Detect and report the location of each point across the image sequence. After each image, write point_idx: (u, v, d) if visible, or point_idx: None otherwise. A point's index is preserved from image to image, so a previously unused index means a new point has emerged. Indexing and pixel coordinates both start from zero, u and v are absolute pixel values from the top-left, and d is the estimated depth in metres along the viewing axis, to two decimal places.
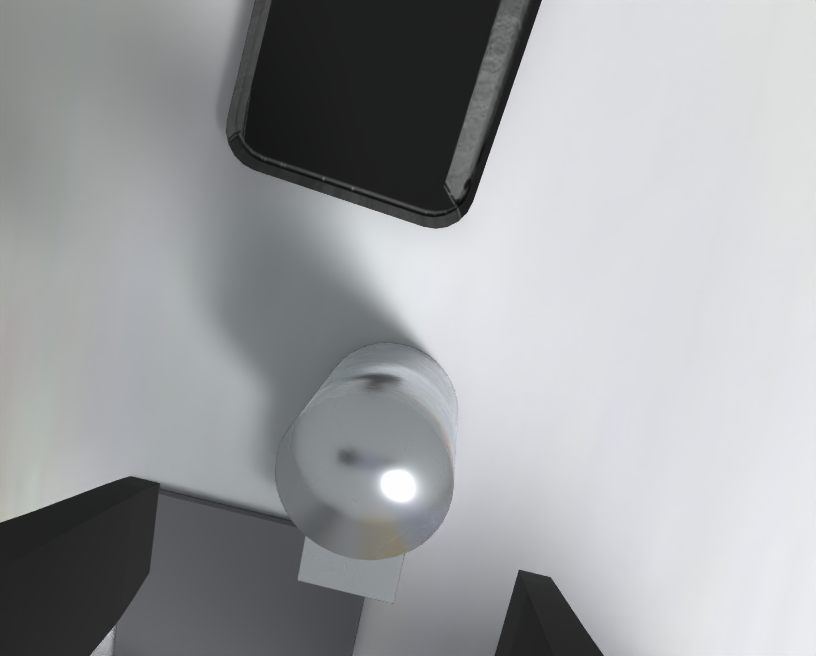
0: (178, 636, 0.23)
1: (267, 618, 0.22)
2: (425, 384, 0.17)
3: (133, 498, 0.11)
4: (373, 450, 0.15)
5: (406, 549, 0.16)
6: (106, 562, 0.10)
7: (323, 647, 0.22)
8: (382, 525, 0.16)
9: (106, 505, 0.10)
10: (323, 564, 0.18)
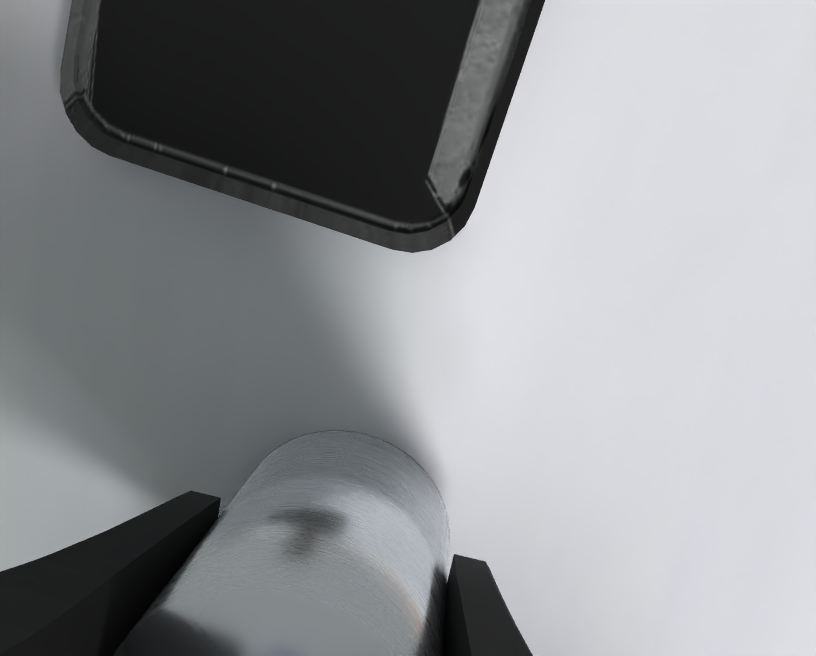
0: None
1: None
2: (391, 529, 0.10)
3: (199, 514, 0.11)
4: None
5: None
6: None
7: None
8: None
9: (176, 522, 0.10)
10: None
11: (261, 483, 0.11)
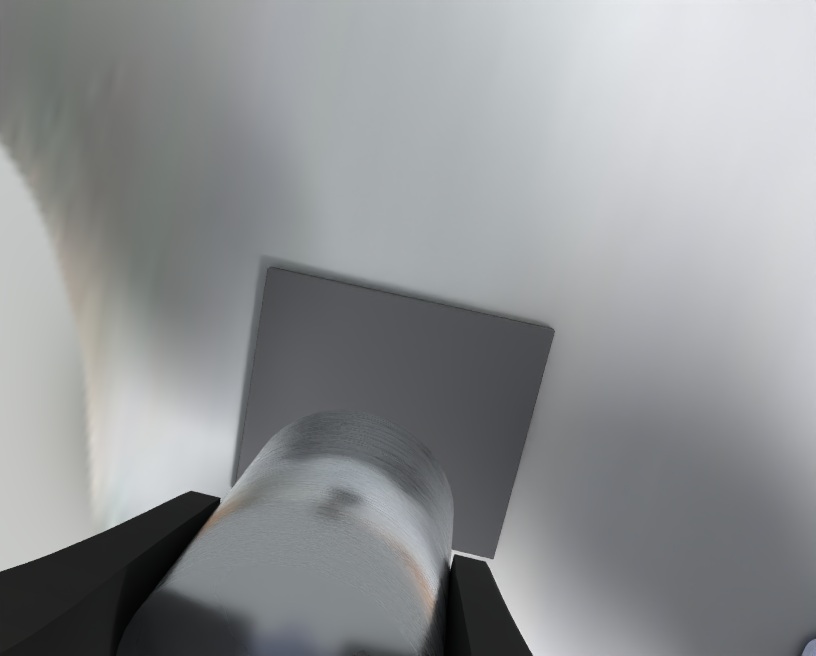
0: None
1: (420, 426, 0.19)
2: (400, 510, 0.10)
3: (199, 514, 0.11)
4: None
5: None
6: None
7: (485, 460, 0.20)
8: None
9: (176, 522, 0.10)
10: None
11: (274, 459, 0.11)
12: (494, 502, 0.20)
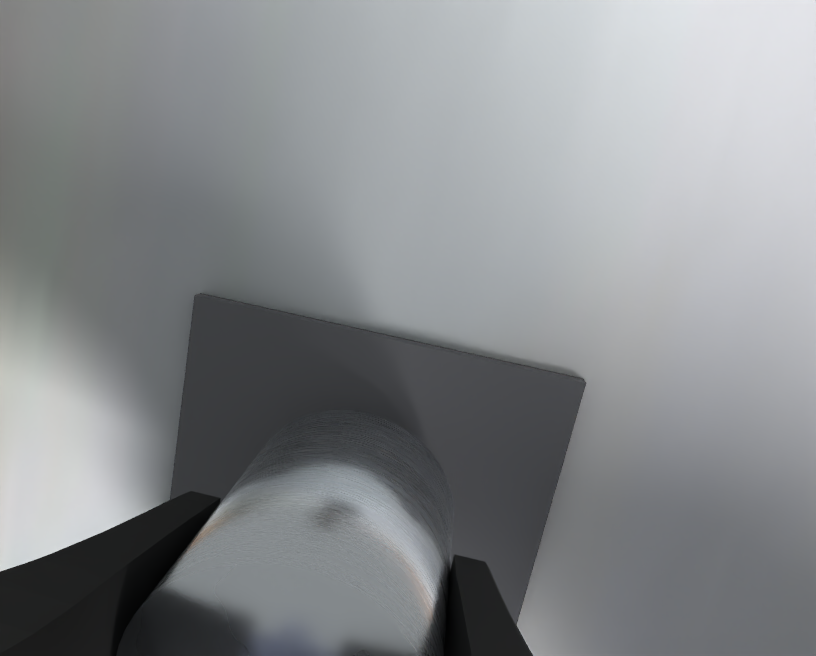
0: None
1: None
2: (401, 509, 0.10)
3: (199, 514, 0.11)
4: None
5: None
6: None
7: (490, 552, 0.15)
8: None
9: (176, 522, 0.10)
10: None
11: (274, 459, 0.11)
12: None
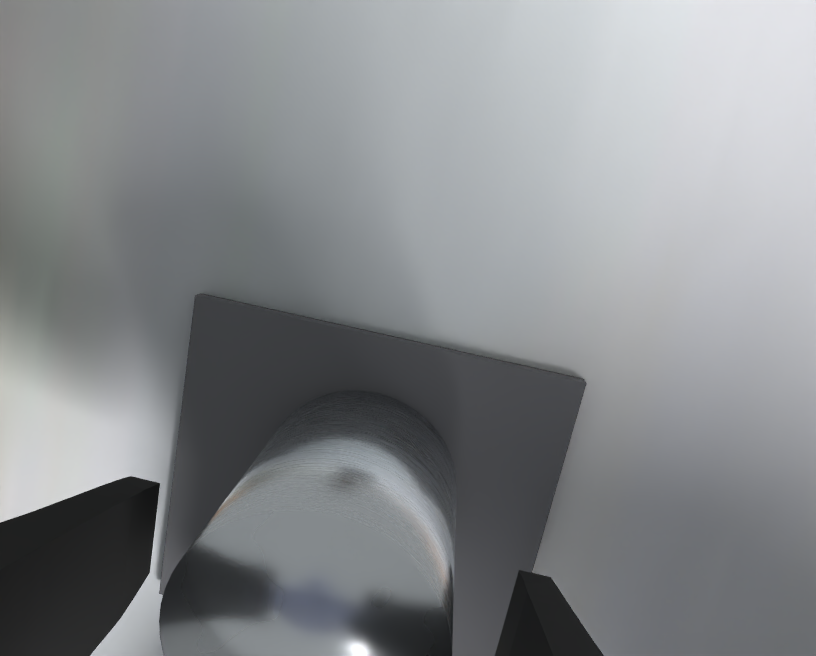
0: None
1: None
2: (412, 474, 0.11)
3: (133, 498, 0.11)
4: (320, 601, 0.09)
5: None
6: (106, 562, 0.10)
7: (490, 552, 0.15)
8: None
9: (106, 505, 0.10)
10: None
11: (295, 432, 0.12)
12: (502, 607, 0.15)
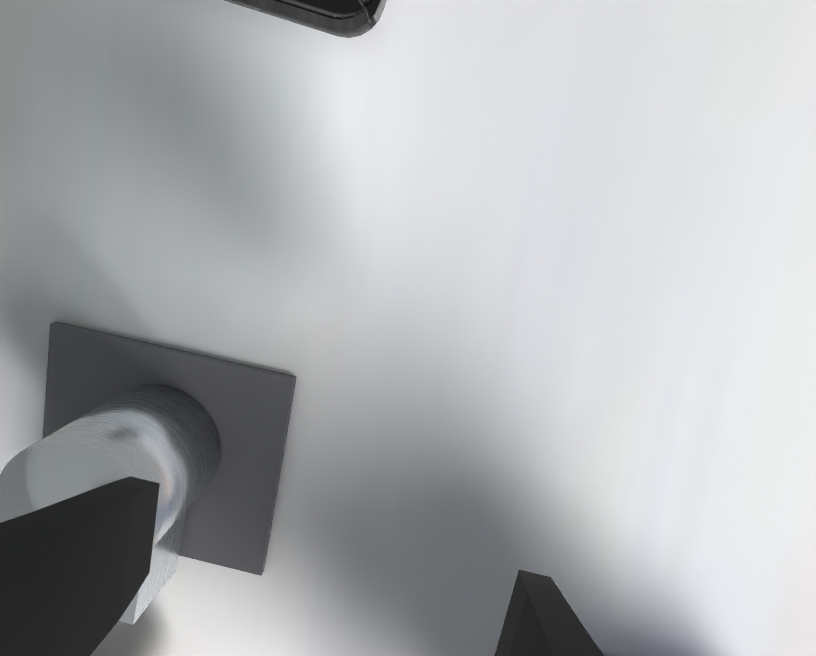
0: None
1: None
2: (157, 430, 0.19)
3: (133, 498, 0.11)
4: (77, 492, 0.17)
5: None
6: (106, 562, 0.10)
7: (246, 489, 0.22)
8: None
9: (106, 505, 0.10)
10: None
11: (99, 406, 0.20)
12: (257, 526, 0.23)
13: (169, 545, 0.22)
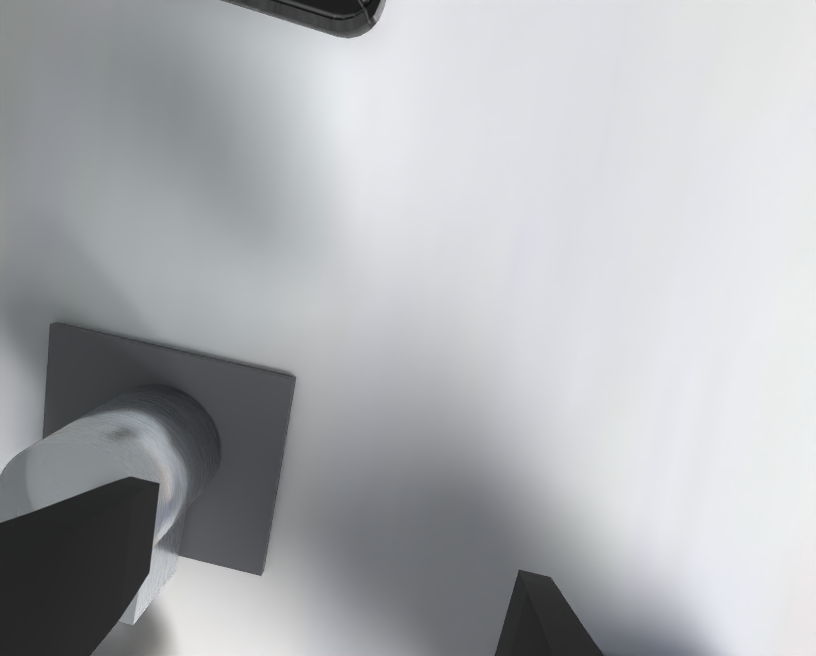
0: None
1: None
2: (157, 430, 0.19)
3: (133, 498, 0.11)
4: (76, 492, 0.17)
5: None
6: (106, 562, 0.10)
7: (246, 490, 0.22)
8: None
9: (106, 505, 0.10)
10: None
11: (98, 407, 0.20)
12: (257, 526, 0.23)
13: (169, 545, 0.22)
